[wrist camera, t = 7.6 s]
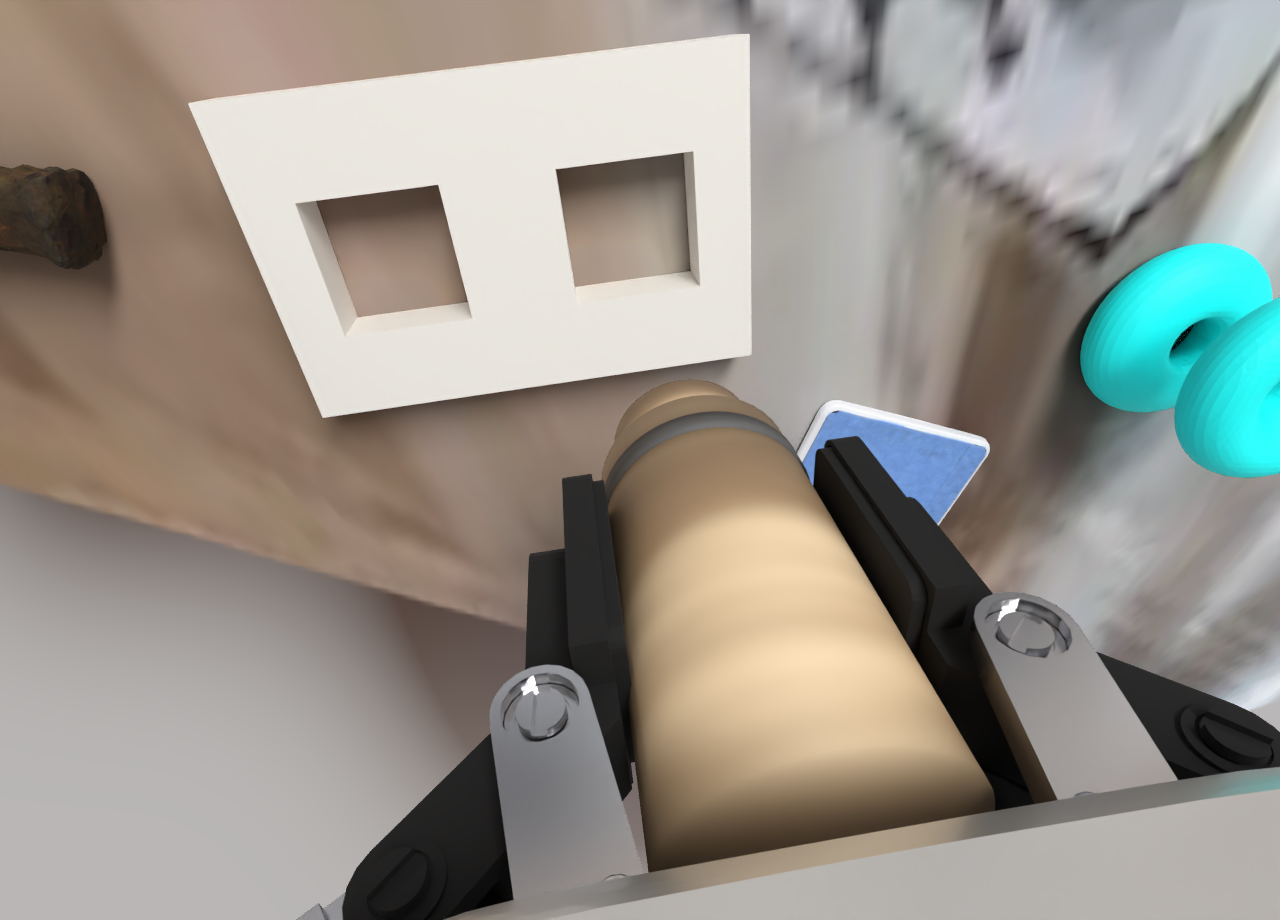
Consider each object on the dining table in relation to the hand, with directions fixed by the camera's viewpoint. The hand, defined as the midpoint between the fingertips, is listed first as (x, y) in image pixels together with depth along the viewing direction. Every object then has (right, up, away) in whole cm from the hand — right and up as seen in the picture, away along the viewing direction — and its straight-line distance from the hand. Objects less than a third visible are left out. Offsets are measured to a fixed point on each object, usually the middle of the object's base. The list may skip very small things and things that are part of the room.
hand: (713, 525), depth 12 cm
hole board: (-7, +12, +19) cm, 24 cm away
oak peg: (0, +2, +3) cm, 3 cm away
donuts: (+29, +9, +27) cm, 41 cm away
